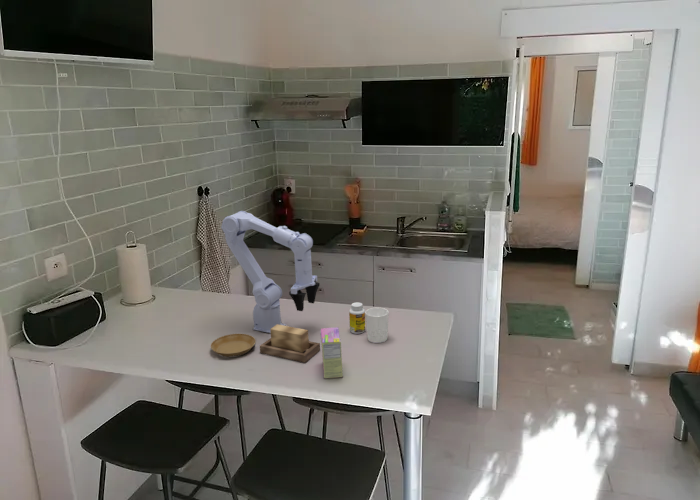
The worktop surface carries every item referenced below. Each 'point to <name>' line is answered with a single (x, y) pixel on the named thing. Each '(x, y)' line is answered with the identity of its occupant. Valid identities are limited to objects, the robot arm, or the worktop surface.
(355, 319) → the supplement bottle
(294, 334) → the wooden block
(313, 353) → the walnut peg frame
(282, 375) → the worktop surface
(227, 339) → the plant saucer
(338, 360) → the box
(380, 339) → the white cup
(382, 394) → the worktop surface
